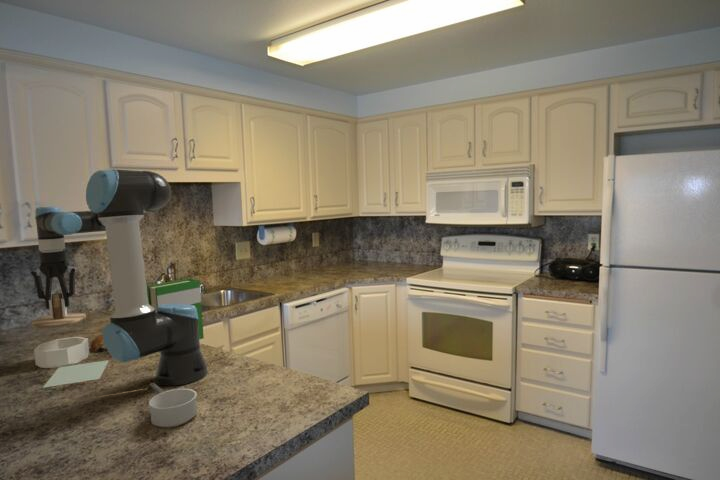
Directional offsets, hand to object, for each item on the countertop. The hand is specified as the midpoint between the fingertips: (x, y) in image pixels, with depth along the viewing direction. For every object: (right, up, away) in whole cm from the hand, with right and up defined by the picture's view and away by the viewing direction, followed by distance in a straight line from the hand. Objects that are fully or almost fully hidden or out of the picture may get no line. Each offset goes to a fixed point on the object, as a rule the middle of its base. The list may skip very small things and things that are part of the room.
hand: (59, 316), depth 157 cm
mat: (+14, -17, -11) cm, 25 cm away
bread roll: (+9, -15, +14) cm, 22 cm away
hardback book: (+35, -14, +19) cm, 42 cm away
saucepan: (+56, -19, -41) cm, 72 cm away
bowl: (+1, -16, +2) cm, 16 cm away
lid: (0, -2, 0) cm, 2 cm away
